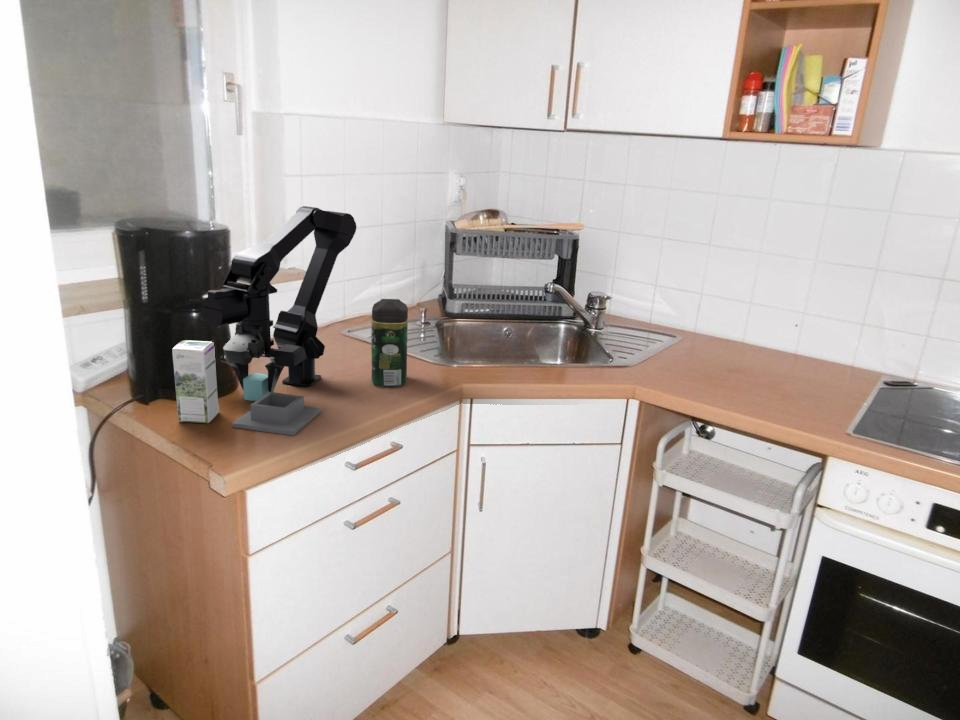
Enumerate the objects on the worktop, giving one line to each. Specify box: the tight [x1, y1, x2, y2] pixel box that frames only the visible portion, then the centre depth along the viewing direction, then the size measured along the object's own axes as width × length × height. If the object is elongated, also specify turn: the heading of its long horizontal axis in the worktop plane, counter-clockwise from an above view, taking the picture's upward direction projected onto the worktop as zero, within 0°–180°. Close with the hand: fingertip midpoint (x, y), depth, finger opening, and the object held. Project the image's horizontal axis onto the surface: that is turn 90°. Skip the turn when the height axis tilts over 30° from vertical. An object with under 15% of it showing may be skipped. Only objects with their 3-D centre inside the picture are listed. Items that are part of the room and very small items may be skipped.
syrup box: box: [171, 339, 220, 424], centre depth 125 cm, size 6×6×14 cm
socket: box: [231, 391, 322, 437], centre depth 128 cm, size 12×12×4 cm
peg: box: [243, 372, 269, 402], centre depth 138 cm, size 4×4×4 cm
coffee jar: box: [370, 298, 409, 389], centre depth 149 cm, size 10×8×19 cm
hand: (258, 391), depth 138 cm, fingers open, 5 cm apart
